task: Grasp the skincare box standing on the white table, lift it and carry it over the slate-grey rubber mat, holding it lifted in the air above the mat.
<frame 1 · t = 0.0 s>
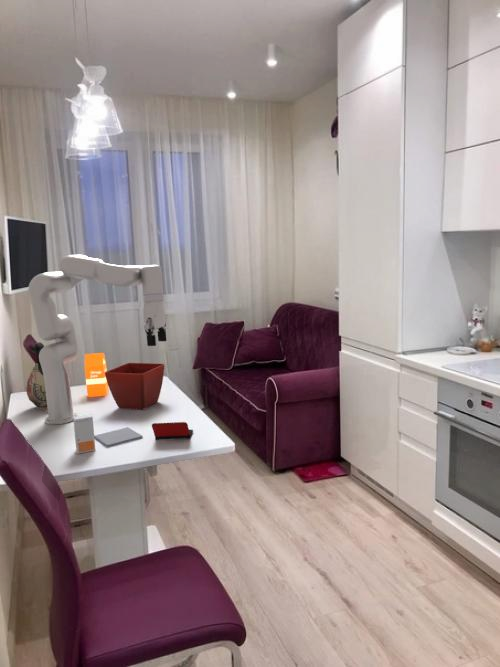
hand: (157, 343, 197), 31 cm above the table, tool pointing down, fingers open, 9 cm apart
slate mat: (118, 437, 187), on the table
skincare box: (86, 451, 176), on the table
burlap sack: (47, 407, 232), on the table
plant pot: (138, 405, 228), on the table
orange juice: (98, 394, 251), on the table
handheld game console: (173, 438, 184), on the table
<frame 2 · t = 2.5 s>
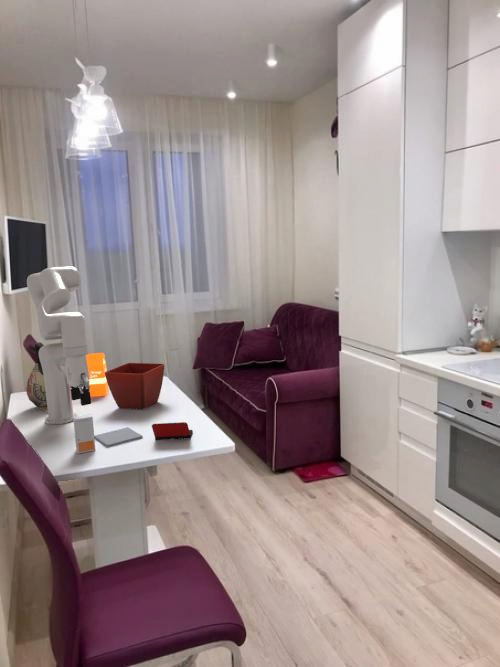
hand: (81, 402, 173), 17 cm above the table, tool pointing down, fingers open, 9 cm apart
nothing on the table moved.
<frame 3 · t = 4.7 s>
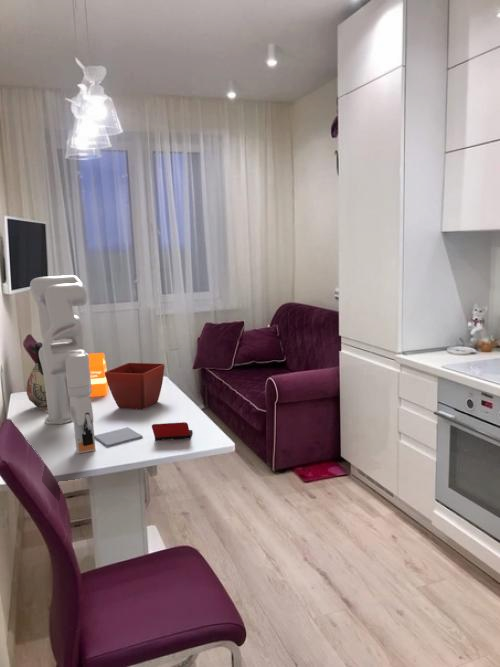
hand: (85, 442, 176), 3 cm above the table, tool pointing down, fingers closed on skincare box, 4 cm apart
skincare box: (86, 450, 176), on the table, touching gripper
everything else where it was.
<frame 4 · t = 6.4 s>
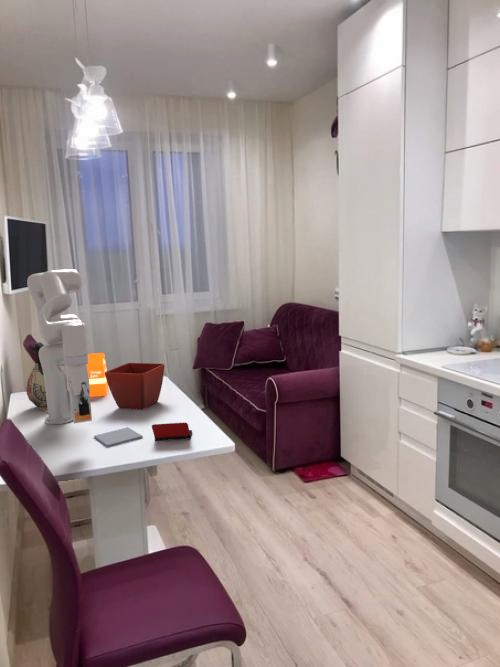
hand: (81, 412, 175), 13 cm above the table, tool pointing down, fingers closed on skincare box, 4 cm apart
skincare box: (82, 421, 175), point 10 cm above the table, touching gripper
everything else where it was.
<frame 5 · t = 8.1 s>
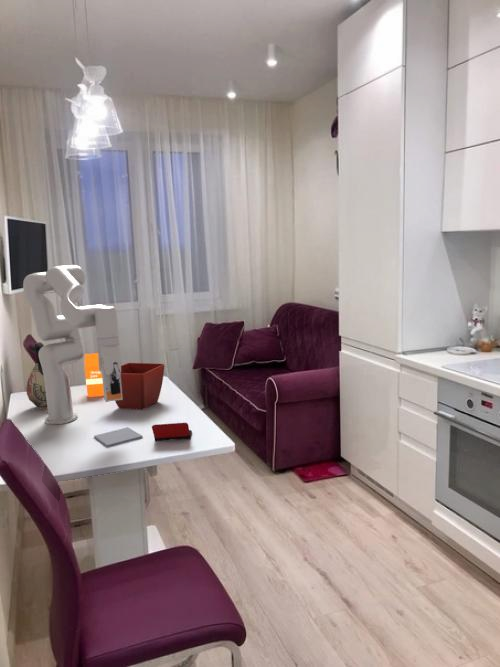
hand: (112, 391, 184), 17 cm above the table, tool pointing down, fingers closed on skincare box, 4 cm apart
skincare box: (113, 400, 185), point 14 cm above the table, touching gripper
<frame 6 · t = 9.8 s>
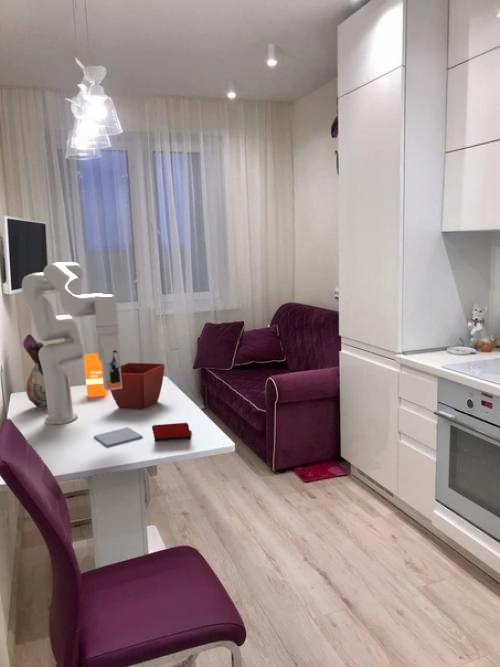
hand: (112, 380, 184), 21 cm above the table, tool pointing down, fingers closed on skincare box, 4 cm apart
skincare box: (113, 389, 184), point 18 cm above the table, touching gripper
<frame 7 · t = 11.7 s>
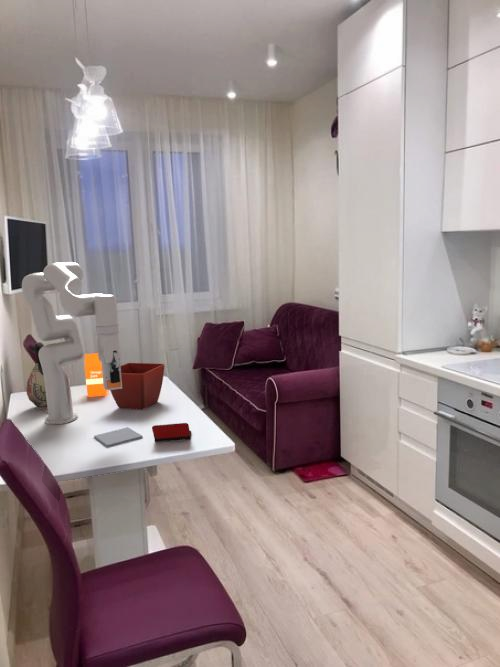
hand: (112, 380, 184), 21 cm above the table, tool pointing down, fingers closed on skincare box, 4 cm apart
skincare box: (113, 389, 184), point 18 cm above the table, touching gripper
at the end: the gripper is holding skincare box; skincare box point 18.0 cm above the table; skincare box 0.1 cm from the slate mat (horizontally) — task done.
